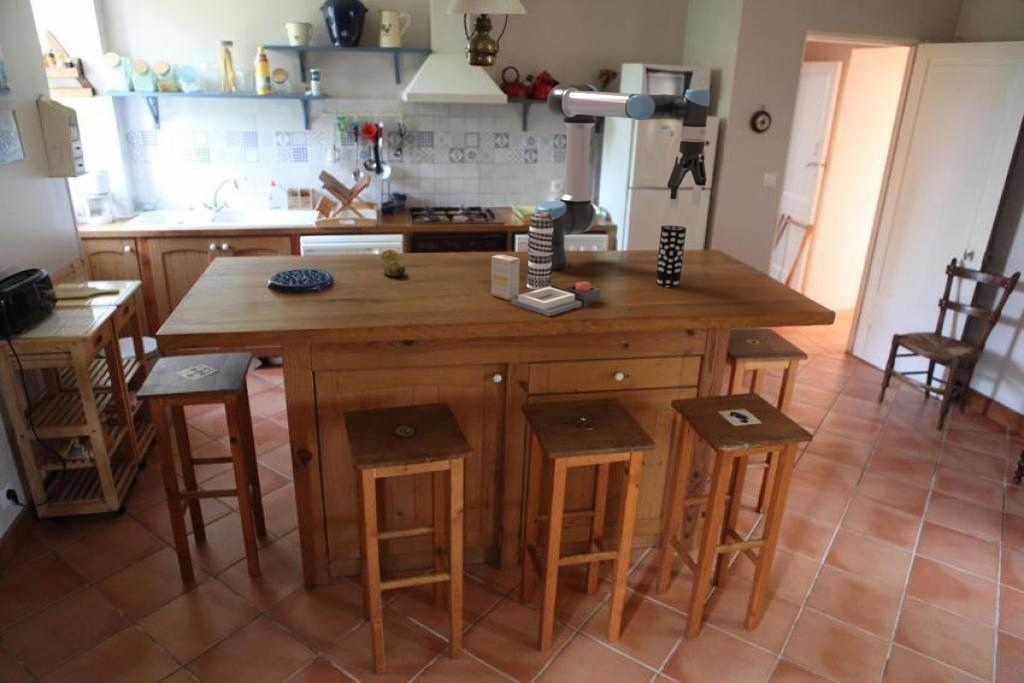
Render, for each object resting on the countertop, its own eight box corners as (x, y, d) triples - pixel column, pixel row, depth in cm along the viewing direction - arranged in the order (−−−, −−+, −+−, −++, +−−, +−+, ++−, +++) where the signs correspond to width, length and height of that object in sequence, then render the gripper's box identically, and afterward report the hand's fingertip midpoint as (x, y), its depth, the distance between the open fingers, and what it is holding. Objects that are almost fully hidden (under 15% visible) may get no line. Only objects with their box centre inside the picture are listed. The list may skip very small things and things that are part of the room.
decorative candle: (520, 286, 229) (522, 213, 220) (535, 281, 236) (538, 209, 227) (542, 292, 224) (545, 216, 215) (557, 286, 231) (561, 213, 222)
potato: (381, 279, 233) (380, 256, 230) (380, 269, 245) (379, 248, 242) (406, 278, 235) (405, 256, 232) (403, 269, 247) (403, 247, 244)
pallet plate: (511, 304, 211) (511, 293, 210) (544, 295, 221) (544, 284, 220) (548, 316, 200) (549, 305, 199) (581, 306, 210) (582, 296, 209)
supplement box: (519, 298, 217) (520, 258, 213) (509, 301, 214) (510, 260, 209) (501, 292, 222) (501, 253, 218) (490, 295, 219) (491, 255, 214)
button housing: (564, 300, 216) (565, 288, 215) (580, 295, 221) (581, 283, 220) (583, 306, 211) (584, 293, 209) (599, 301, 216) (600, 289, 215)
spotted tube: (679, 288, 232) (686, 231, 225) (655, 286, 234) (661, 229, 226) (679, 282, 240) (685, 226, 233) (655, 280, 241) (661, 224, 234)
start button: (571, 293, 215) (572, 282, 214) (581, 291, 219) (582, 280, 217) (583, 297, 212) (584, 286, 211) (593, 294, 215) (593, 283, 214)
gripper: (681, 142, 205) (673, 212, 213) (722, 139, 222) (713, 204, 230) (660, 140, 210) (653, 209, 218) (702, 138, 227) (694, 201, 235)
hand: (684, 207), depth 224 cm, fingers open, 13 cm apart
